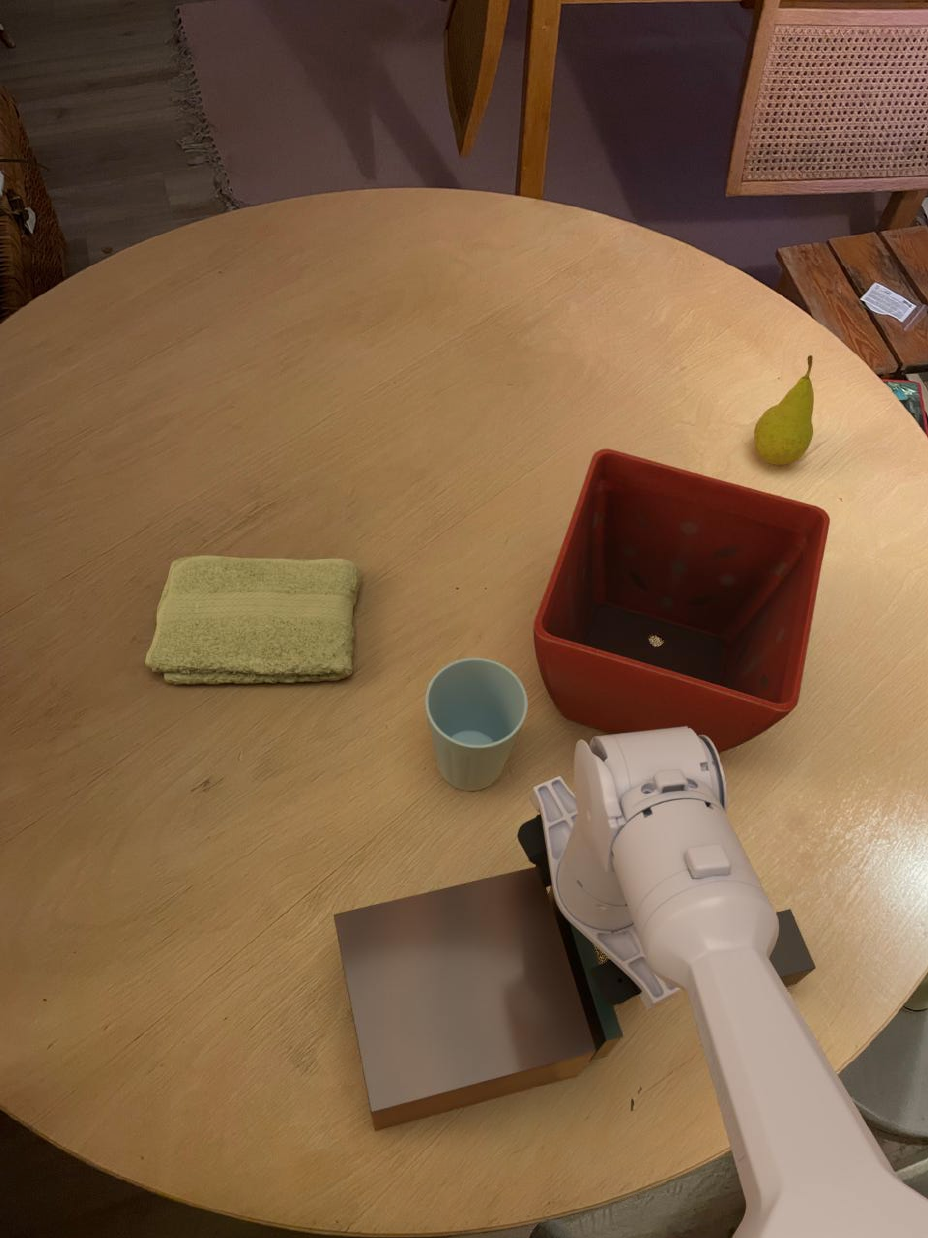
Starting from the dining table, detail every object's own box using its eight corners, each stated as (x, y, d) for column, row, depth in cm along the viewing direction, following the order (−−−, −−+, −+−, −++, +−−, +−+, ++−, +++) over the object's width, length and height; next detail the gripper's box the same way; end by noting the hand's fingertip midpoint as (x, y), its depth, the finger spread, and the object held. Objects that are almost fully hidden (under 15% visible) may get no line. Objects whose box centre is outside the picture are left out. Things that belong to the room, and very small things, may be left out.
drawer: (610, 888, 80) (626, 857, 74) (662, 1041, 74) (683, 1020, 68) (385, 944, 77) (383, 915, 71) (420, 1107, 71) (421, 1091, 65)
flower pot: (733, 810, 85) (797, 714, 71) (510, 739, 87) (529, 632, 73) (770, 625, 95) (833, 508, 81) (569, 567, 97) (596, 444, 83)
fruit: (765, 485, 104) (803, 398, 94) (734, 445, 107) (768, 356, 97) (812, 469, 106) (855, 382, 96) (781, 429, 108) (818, 341, 98)
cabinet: (527, 904, 80) (539, 865, 72) (578, 1076, 73) (596, 1051, 66) (340, 950, 77) (333, 914, 70) (374, 1131, 71) (371, 1113, 63)
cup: (434, 813, 83) (437, 756, 75) (414, 730, 87) (415, 666, 79) (525, 794, 85) (539, 736, 76) (501, 713, 89) (512, 649, 80)
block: (797, 984, 77) (816, 968, 74) (742, 998, 77) (759, 983, 73) (773, 926, 80) (790, 908, 76) (720, 940, 79) (735, 922, 75)
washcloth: (171, 564, 96) (164, 543, 93) (363, 570, 96) (361, 549, 94) (146, 688, 88) (138, 669, 86) (353, 694, 89) (352, 675, 86)
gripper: (748, 943, 56) (691, 1003, 67) (612, 725, 63) (581, 812, 74) (637, 1001, 54) (597, 1053, 65) (509, 769, 61) (493, 853, 72)
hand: (583, 928), depth 70 cm, fingers open, 7 cm apart
